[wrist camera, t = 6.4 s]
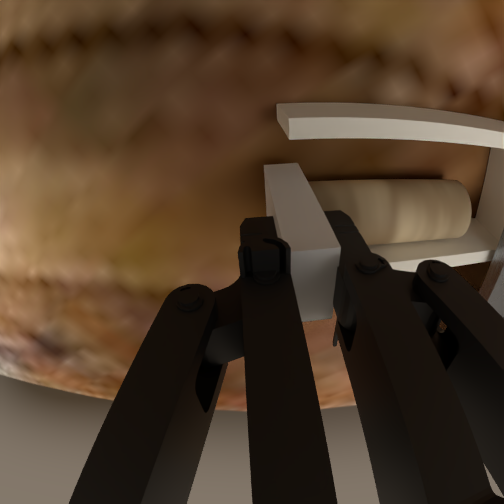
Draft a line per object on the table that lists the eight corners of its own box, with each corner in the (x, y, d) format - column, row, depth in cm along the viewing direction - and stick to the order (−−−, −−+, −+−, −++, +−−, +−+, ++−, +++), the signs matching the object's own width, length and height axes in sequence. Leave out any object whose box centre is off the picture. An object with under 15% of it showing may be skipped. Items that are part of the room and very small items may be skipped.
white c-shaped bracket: (276, 103, 13) (289, 118, 10) (530, 128, 13) (567, 148, 10) (281, 244, 18) (291, 287, 15) (507, 225, 18) (535, 254, 15)
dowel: (290, 193, 16) (297, 253, 16) (299, 172, 13) (307, 246, 13) (435, 188, 17) (444, 241, 16) (464, 172, 13) (475, 233, 13)
